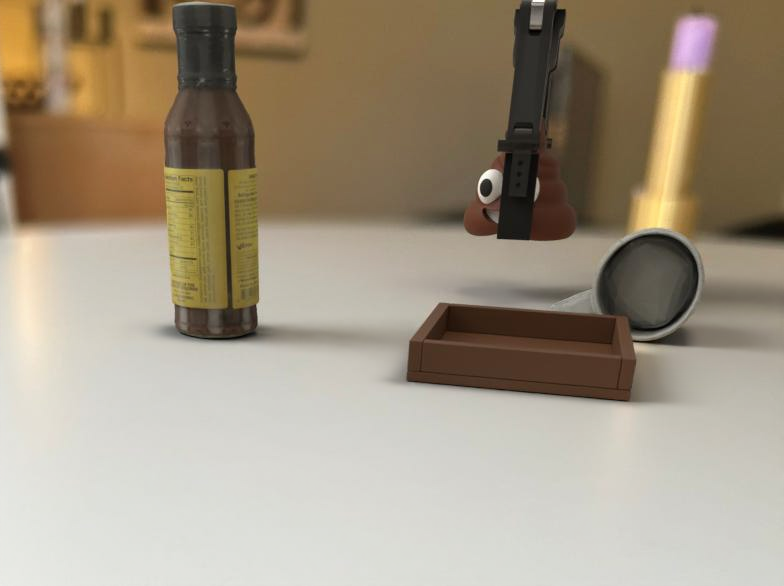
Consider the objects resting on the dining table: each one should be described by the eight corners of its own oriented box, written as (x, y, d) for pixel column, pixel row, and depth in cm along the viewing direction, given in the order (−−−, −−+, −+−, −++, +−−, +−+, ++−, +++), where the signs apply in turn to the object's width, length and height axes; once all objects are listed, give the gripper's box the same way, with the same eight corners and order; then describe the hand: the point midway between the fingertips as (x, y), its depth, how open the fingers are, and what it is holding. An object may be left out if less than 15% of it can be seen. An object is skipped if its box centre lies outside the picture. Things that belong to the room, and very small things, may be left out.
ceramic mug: (690, 326, 79) (710, 221, 75) (692, 346, 72) (714, 231, 68) (554, 316, 82) (567, 215, 78) (543, 334, 75) (557, 224, 71)
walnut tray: (621, 351, 70) (627, 316, 69) (629, 401, 58) (636, 359, 57) (436, 336, 72) (439, 302, 71) (406, 380, 60) (409, 340, 59)
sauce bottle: (244, 321, 75) (244, 10, 66) (270, 338, 70) (275, 4, 61) (160, 324, 73) (149, 4, 64) (181, 342, 68) (172, -3, 59)
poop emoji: (588, 237, 88) (605, 118, 84) (552, 245, 82) (568, 117, 78) (485, 229, 93) (496, 116, 89) (444, 236, 87) (453, 115, 83)
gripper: (511, -56, 87) (484, 221, 98) (491, -105, 68) (460, 244, 79) (599, -58, 86) (562, 224, 96) (603, -107, 67) (557, 249, 77)
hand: (516, 233), depth 88 cm, fingers closed on poop emoji, 9 cm apart
